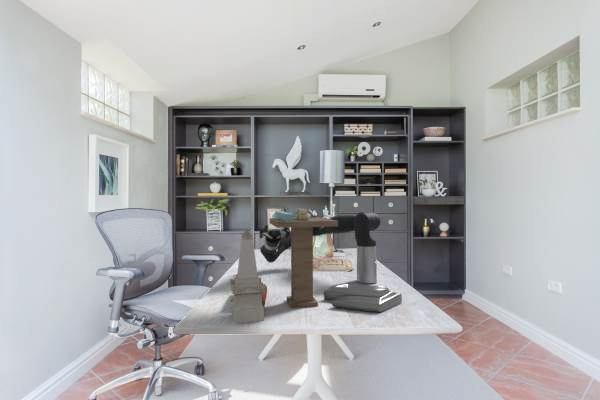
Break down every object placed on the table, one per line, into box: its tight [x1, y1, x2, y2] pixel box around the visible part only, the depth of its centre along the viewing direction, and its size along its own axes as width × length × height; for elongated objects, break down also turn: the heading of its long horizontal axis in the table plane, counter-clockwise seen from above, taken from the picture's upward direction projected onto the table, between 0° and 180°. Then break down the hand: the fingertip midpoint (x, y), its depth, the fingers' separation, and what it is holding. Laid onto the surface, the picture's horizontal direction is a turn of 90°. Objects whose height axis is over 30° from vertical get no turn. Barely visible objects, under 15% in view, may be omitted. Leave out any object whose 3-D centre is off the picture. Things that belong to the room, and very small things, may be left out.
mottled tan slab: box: [313, 257, 355, 273], centre depth 203 cm, size 28×6×30 cm
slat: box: [274, 210, 295, 221], centre depth 137 cm, size 28×3×2 cm, turn 12°
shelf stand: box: [269, 208, 338, 309], centre depth 132 cm, size 22×22×36 cm
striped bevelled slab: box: [323, 283, 403, 313], centre depth 134 cm, size 28×5×28 cm
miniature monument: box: [230, 228, 266, 325], centre depth 117 cm, size 10×10×30 cm
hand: (276, 226), depth 158 cm, fingers open, 8 cm apart
